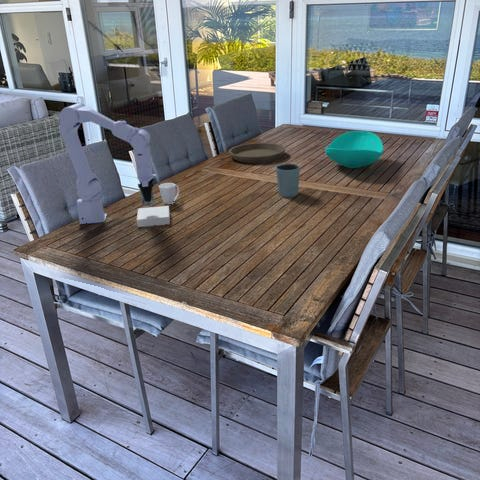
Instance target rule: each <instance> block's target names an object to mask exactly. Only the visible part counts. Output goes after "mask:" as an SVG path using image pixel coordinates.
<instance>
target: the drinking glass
mask: <svg viewBox="0 0 480 480" xmlns="http://www.w3.org/2000/svg"><path fill="white" fill-rule="evenodd" d="M300 169H301V167H300V165H299V164H295V163H283V164H282V163H281V164H279V165H276V167H275V172H276V180H277V182H276V183H277V192H278V193H277V194H278V195H279V196H281V197H284V198H285V197H286V198H292V197H296V196H298V195H299V191H300V190H299V185H300V172H301V171H300Z"/></svg>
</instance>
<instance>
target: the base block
mask: <svg viewBox="0 0 480 480" xmlns="http://www.w3.org/2000/svg"><path fill="white" fill-rule="evenodd" d="M170 214H171V212H170V205H164V206H163V205H162V206H152V207H142V208H141V207H139V208H137V216H136V224H137V228H143V227H144V228H145V227H154V225H156V226H164V225H165V226H166V224H167V225H170V224H171V215H170Z"/></svg>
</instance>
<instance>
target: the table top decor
mask: <svg viewBox="0 0 480 480" xmlns="http://www.w3.org/2000/svg"><path fill="white" fill-rule="evenodd" d="M383 143H384V142H383V141H382V140H381V138H380V137H379V135H377V134H376V133H374V132H370V131H365V130H363V131H362V130H355V131H353V130H352V131H347V132H345V133H342V134H340V135H339V136H337V137H336V138H334V139H333V141H331V142H330V144H329V145H328V146H326V148H325V149H324V152H325V154H326V156H327V157H328V159H330V160H331V161H333V162H334V163H336V164H338V165H341V166H343V167H346V168H349V169H359V168H361V167H362V168H363V167H366V166H369V165H371V164H373V163H374V162H376V161H377V160H379V159H380V157H381V156H382V155H383V153H384V144H383Z"/></svg>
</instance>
